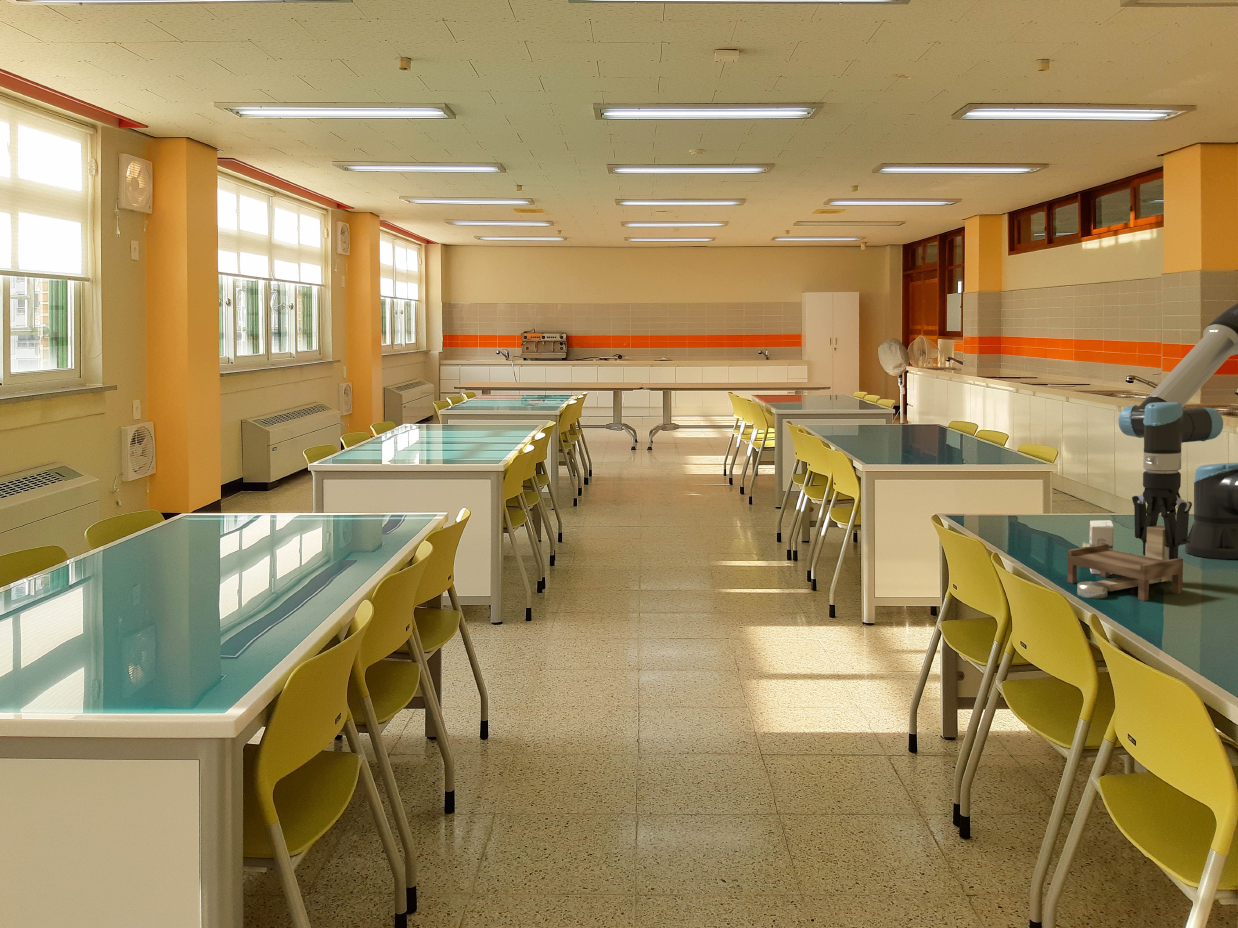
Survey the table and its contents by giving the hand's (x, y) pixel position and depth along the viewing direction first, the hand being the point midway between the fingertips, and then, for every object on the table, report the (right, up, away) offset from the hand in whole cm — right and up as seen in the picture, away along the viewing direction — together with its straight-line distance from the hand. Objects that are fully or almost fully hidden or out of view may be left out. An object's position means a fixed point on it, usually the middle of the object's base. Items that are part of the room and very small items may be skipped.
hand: (1159, 571), depth 226 cm
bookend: (-7, -2, -3) cm, 8 cm away
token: (-19, -4, -8) cm, 21 cm away
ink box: (-7, -1, +14) cm, 15 cm away
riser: (-10, -3, -3) cm, 11 cm away
